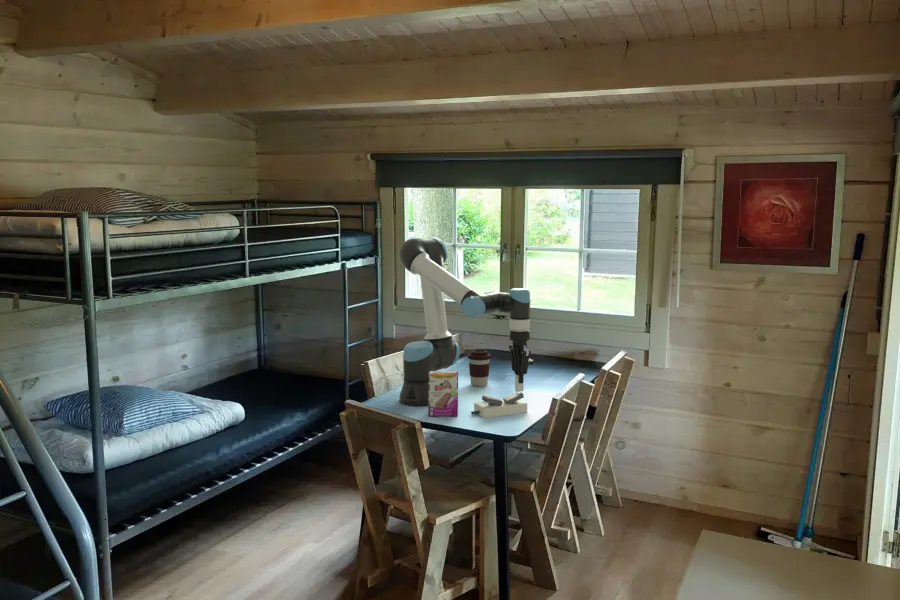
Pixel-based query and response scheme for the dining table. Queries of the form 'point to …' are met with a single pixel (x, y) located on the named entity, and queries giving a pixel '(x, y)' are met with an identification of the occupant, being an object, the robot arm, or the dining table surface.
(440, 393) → the candy bar box
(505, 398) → the rocker
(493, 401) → the rocker
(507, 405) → the power strip
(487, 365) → the coffee cup
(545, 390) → the dining table surface
